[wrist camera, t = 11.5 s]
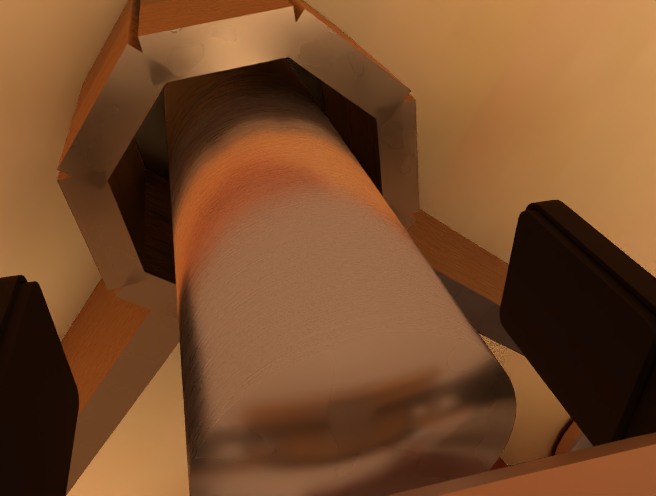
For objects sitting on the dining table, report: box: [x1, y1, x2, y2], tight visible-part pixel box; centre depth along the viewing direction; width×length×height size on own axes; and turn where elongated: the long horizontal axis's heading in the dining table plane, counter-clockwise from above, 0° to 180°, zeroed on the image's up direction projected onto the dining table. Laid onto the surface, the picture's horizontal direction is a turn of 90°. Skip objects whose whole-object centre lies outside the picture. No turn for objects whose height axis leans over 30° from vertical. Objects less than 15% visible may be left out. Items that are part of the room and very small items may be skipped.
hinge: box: [57, 0, 524, 495], centre depth 21 cm, size 20×20×6 cm
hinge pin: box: [164, 58, 516, 496], centre depth 13 cm, size 4×4×14 cm
